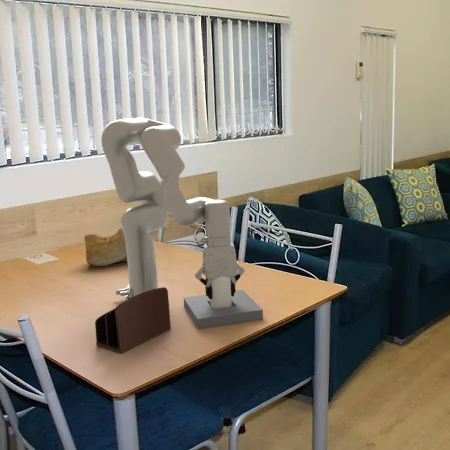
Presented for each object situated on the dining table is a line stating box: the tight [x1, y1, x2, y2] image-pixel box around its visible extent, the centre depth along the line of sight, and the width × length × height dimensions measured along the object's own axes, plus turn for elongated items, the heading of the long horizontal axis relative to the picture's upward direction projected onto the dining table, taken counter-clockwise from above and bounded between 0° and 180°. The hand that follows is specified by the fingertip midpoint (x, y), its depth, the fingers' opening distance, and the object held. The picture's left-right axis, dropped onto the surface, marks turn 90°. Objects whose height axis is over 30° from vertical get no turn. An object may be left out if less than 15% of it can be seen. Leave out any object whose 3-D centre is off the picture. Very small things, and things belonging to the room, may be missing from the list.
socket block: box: [183, 289, 264, 329], centre depth 181 cm, size 20×20×3 cm
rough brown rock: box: [84, 227, 127, 267], centre depth 244 cm, size 23×17×15 cm
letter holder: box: [94, 286, 172, 354], centre depth 164 cm, size 10×20×14 cm, turn 142°
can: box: [210, 276, 232, 309], centre depth 180 cm, size 6×6×12 cm
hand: (220, 296), depth 180 cm, fingers closed on can, 6 cm apart
